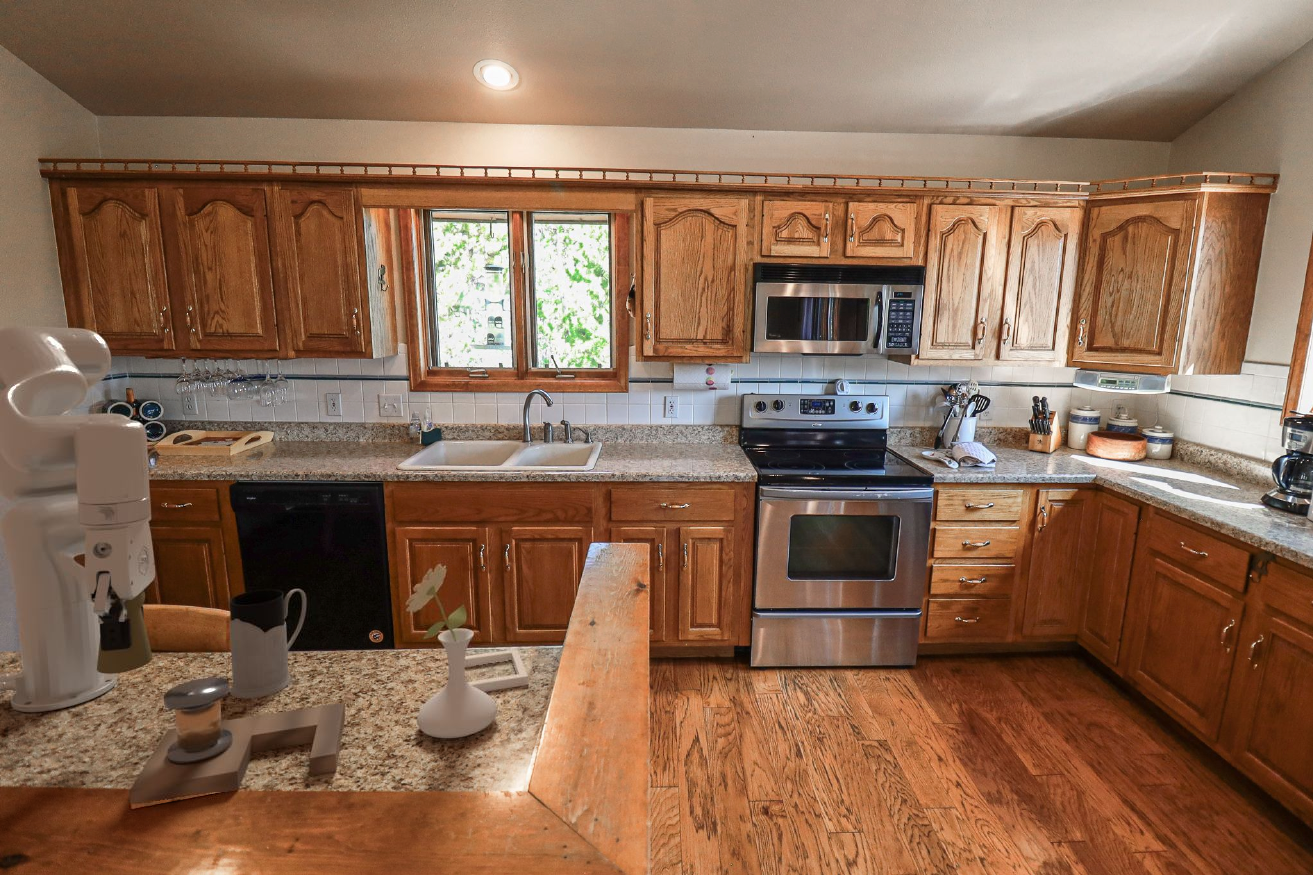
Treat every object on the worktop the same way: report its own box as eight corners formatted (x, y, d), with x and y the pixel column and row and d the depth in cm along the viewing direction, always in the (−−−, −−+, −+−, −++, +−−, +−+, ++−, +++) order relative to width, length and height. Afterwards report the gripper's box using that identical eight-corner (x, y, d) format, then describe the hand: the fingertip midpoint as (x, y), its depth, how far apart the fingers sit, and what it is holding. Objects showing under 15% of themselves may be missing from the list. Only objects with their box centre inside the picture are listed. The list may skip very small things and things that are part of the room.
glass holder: (216, 693, 106) (211, 603, 104) (287, 657, 120) (283, 576, 118) (260, 701, 104) (255, 609, 102) (328, 663, 117) (324, 581, 116)
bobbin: (159, 769, 82) (155, 707, 81) (177, 739, 89) (173, 682, 88) (225, 758, 85) (221, 698, 84) (238, 730, 91) (234, 674, 90)
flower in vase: (464, 698, 106) (461, 545, 103) (513, 720, 99) (511, 557, 97) (390, 734, 95) (384, 564, 92) (440, 762, 89) (435, 580, 86)
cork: (121, 676, 88) (116, 596, 87) (84, 670, 89) (79, 592, 88) (163, 656, 94) (159, 581, 93) (128, 651, 95) (123, 577, 94)
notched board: (130, 809, 78) (129, 790, 78) (169, 746, 91) (168, 729, 91) (336, 771, 86) (335, 753, 86) (344, 718, 99) (344, 702, 99)
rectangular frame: (458, 695, 106) (457, 686, 106) (453, 666, 117) (452, 658, 117) (528, 684, 110) (528, 676, 110) (517, 656, 121) (517, 649, 121)
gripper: (125, 525, 83) (134, 665, 85) (169, 497, 98) (175, 615, 100) (49, 529, 80) (60, 673, 82) (106, 499, 95) (114, 621, 98)
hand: (123, 640), depth 91 cm, fingers closed on cork, 4 cm apart
